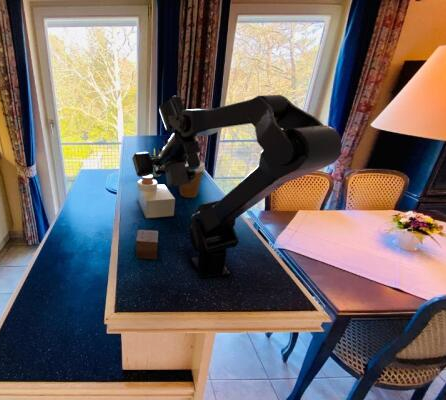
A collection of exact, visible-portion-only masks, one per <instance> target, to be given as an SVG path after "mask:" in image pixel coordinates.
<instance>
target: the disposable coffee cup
mask: <svg viewBox="0 0 446 400" xmlns="http://www.w3.org/2000/svg"><path fill="white" fill-rule="evenodd" d="M186 162H187V161H186ZM185 166H188V163H187V164H185ZM193 170H195V171H196V177H195V178H194V179H193V180H191V183H189V184H185V185H179V195H180V196H181V197H184V198H187V199H188V198H189V199H190V198H196V197H197V196H198V194H199V190H200V187H201V186H200V185H201V181H202V178H203V175H204V171H205V170H206V167H205V163H204V162H203V161H201V163H200V166H199V167H198V168H197V169H193Z"/></svg>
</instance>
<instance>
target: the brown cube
mask: <svg viewBox="0 0 446 400" xmlns="http://www.w3.org/2000/svg"><path fill="white" fill-rule="evenodd" d="M158 240H159V230H148V229H138V230H137V234H136V241H135V244H136V245H135V258H136V259H148V260H158Z"/></svg>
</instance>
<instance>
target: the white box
mask: <svg viewBox="0 0 446 400" xmlns="http://www.w3.org/2000/svg"><path fill="white" fill-rule="evenodd" d="M136 188H137V190H138V203H139V206H140V208H141V211H142V212H143V215H144V217H145V219H151V218H152V219H153V218H154V219H155V218H163V217H164V218H165V217H174V216H175V204H176V198H175V197H174V196H173V194H172V193H171V191H170V190H169V189H168V186H166V185H165V184H164V183H163V184H158V181H157V180H156V179H153V184H149V185H146V184H142V178H141V179H138V181H137V182H136Z"/></svg>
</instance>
